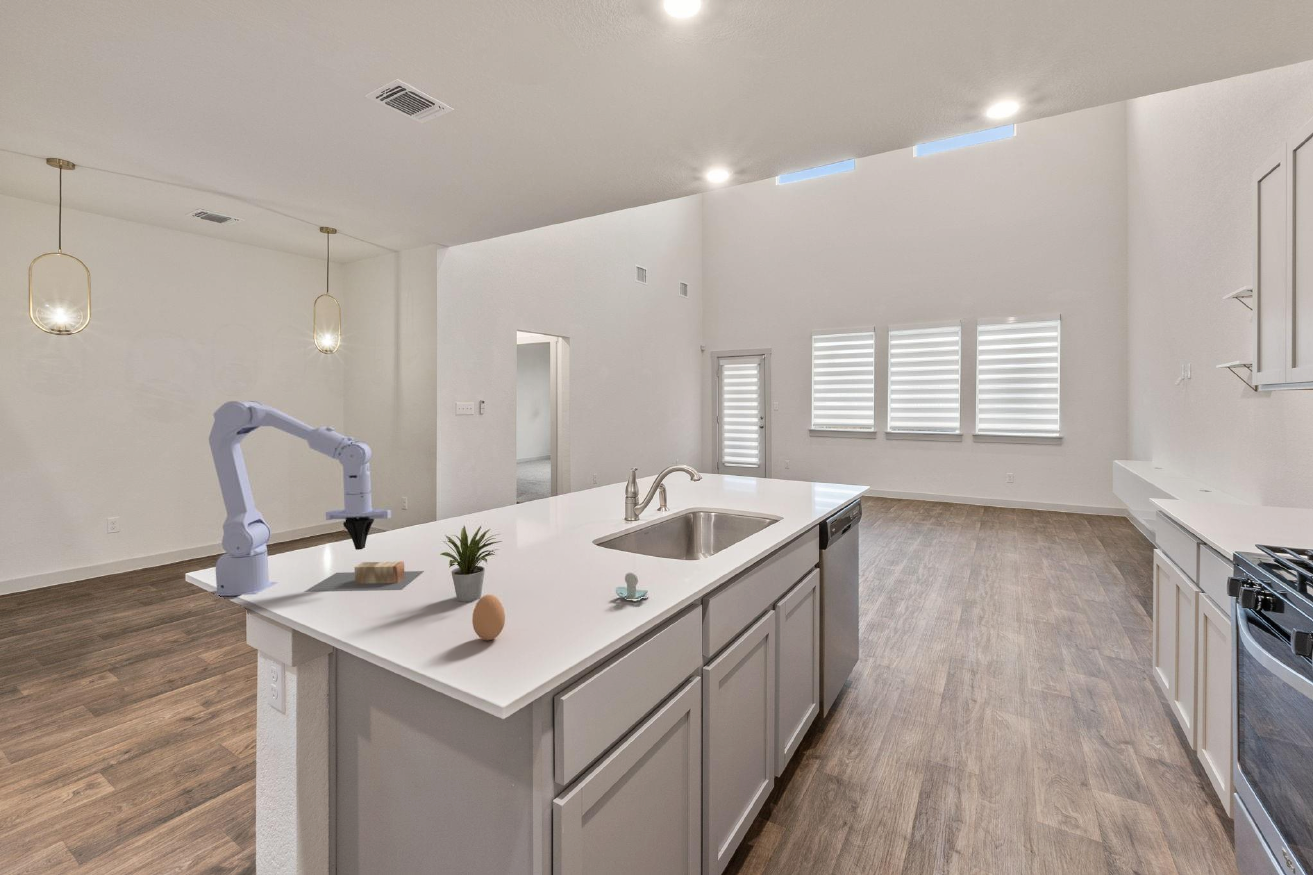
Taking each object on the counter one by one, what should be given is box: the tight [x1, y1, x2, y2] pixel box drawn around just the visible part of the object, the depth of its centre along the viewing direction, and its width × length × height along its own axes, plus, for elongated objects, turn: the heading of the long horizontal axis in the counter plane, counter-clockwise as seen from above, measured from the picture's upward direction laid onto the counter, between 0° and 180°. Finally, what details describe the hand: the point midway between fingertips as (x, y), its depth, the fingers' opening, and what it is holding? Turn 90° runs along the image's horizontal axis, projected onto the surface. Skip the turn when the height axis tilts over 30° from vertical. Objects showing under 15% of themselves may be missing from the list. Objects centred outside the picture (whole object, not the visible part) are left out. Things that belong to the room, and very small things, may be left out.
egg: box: [471, 594, 506, 641], centre depth 103 cm, size 6×6×8 cm
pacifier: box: [615, 572, 649, 599], centre depth 124 cm, size 7×6×6 cm
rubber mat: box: [303, 570, 425, 593], centre depth 136 cm, size 22×14×1 cm, turn 92°
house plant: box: [439, 524, 503, 603], centre depth 124 cm, size 14×14×16 cm
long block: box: [353, 561, 405, 584], centre depth 136 cm, size 4×4×10 cm
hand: (360, 548), depth 135 cm, fingers closed
